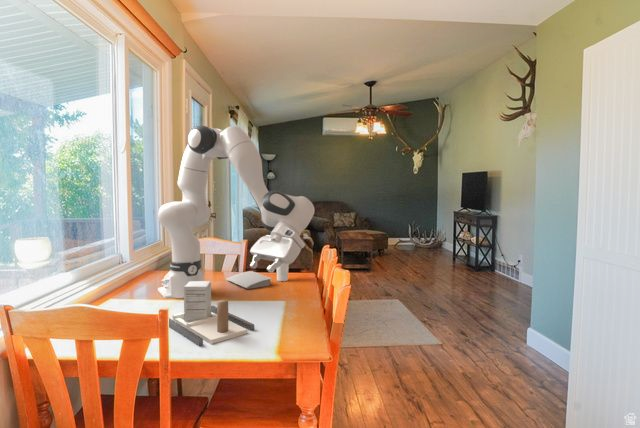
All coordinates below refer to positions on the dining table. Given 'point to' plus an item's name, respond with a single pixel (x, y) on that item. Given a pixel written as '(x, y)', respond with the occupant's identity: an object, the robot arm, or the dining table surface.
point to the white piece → (282, 272)
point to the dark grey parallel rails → (199, 340)
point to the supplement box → (197, 300)
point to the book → (250, 280)
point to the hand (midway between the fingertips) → (260, 269)
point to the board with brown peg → (213, 325)
